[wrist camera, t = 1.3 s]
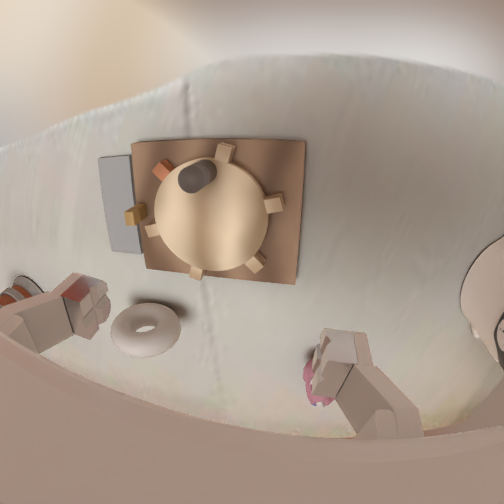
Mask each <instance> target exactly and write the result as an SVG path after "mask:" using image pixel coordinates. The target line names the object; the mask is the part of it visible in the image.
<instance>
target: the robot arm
mask: <svg viewBox="0 0 504 504" xmlns="http://www.w3.org/2000/svg"><path fill="white" fill-rule="evenodd" d="M107 291H108V288H107V283H105V282H104V281H102V280H99V279H96V278H92V277H89V276H86V275H83V274H79V273H72V274H71V275H70V276H69V277H67V278H66V279H65V280H64V281H63V282H62V283H61V284H59V285H58V286H57V287H56V288H55V289H54V290H53V291H52V292H45V293H42V294H39V295H36V296H33V297H30V298H27V299H24V300H20V301H17V302H14V303H11V304H8V305H6V306H3V307H2V308H1V309H0V504H504V425H499V426H494V427H489V428H484V429H479V430H473V431H468V432H462V433H455V434H448V435H441V436H430V437H424V433H423V428H422V424H421V419H420V415H419V411H418V408H417V407H416V406H415V405H414V404H413V403H412V402H411V401H410V400H409V399H408V398H407V397H406V396H405V395H404V394H403V393H402V392H401V391H400V390H399V389H398V387H397V386H396V385H395V384H394V383H393V382H392V381H391V380H390V379H389V378H388V377H387V376H386V375H385V374H384V373H383V372H382V371H381V370H380V369H379V368H378V367H377V366H373V362H372V358H371V353H370V348H369V344H368V339H367V335H366V334H365V333H362V332H353V331H352V332H350V331H342V330H335V329H328V328H324V329H323V331H322V333H321V336H320V344H318V345H317V346H316V349H315V352H314V357H313V363H312V371H313V372H314V374H315V375H314V377H313V379H312V395H315V396H322V397H330V398H335V400H336V402H337V403H338V405H339V406H340V408H341V409H342V411H343V413H344V414H345V416H346V417H347V419H348V420H349V422H350V424H351V425H352V427H353V428H354V430H355V432H356V433H357V435H356V436H355V437H354V438H353V439H338V438H322V437H310V436H300V435H291V434H283V433H276V432H269V431H262V430H256V429H251V428H245V427H240V426H235V425H230V424H225V423H221V422H216V421H212V420H208V419H203V418H199V417H196V416H192V415H188V414H184V413H181V412H177V411H174V410H171V409H167V408H164V407H161V406H158V405H155V404H152V403H149V402H146V401H143V400H140V399H137V398H134V397H132V396H129V395H126V394H124V393H121V392H118V391H116V390H113V389H111V388H108V387H106V386H103V385H101V384H99V383H96V382H94V381H92V380H90V379H87V378H85V377H83V376H81V375H78V374H76V373H74V372H72V371H70V370H68V369H66V368H64V367H62V366H60V365H58V364H56V363H54V362H52V361H50V360H48V359H46V358H45V357H43V356H41V355H39V354H40V353H41V352H43V351H45V350H47V349H49V348H51V347H52V346H54V345H56V344H58V343H60V342H62V341H63V340H65V339H67V338H69V337H71V336H73V335H74V334H76V335H78V336H81V337H84V338H86V339H89V340H91V338H92V337H93V336H94V335H95V333H96V332H97V331H98V330H99V326H98V325H99V324H101V323H104V322H105V321H106V319H107V318H108V316H109V313H110V308H111V304H110V300H109V298H108V297H107V295H106V293H107ZM460 304H461V310H462V312H463V314H464V316H465V317H466V319H467V320H468V321H469V322H470V324H471V330H472V334H473V335H474V337H475V338H481V340H482V341H483V343H484V344H485V346H486V347H487V349H488V350H489V351H490V353H491V354H492V356H493V357H494V359H495V360H496V361H497V362H499V363H500V365H501V367H502V371H503V373H504V236H503V237H502V238H501V239H499V240H498V241H496V242H494V243H493V244H492V245H490V246H489V247H488V248H487V249H485V250H484V251H483V252H482V254H481V255H480V256H479V257H478V258H477V259H476V261H475V262H474V264H473V265H472V267H471V268H470V270H469V272H468V274H467V276H466V278H465V281H464V284H463V287H462V291H461V298H460Z"/></svg>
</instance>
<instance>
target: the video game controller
mask: <svg viewBox="0 0 504 504" xmlns="http://www.w3.org/2000/svg"><path fill="white" fill-rule="evenodd" d="M312 363H313V359H310V360H309V361H308V362H307V364H306V366H305V367H304V369H303V379H304V381H305V382H306V392H307V396H308V399H309V400H310V403H311V404H312V405H315V406H323V407H324V406H326V405H329V404H330V403H331V402H332V401H333V400H334V399H335V398H330V397H322V396H315V395H312V379H313V377H314V375H315V374H314V372H313V371H312Z"/></svg>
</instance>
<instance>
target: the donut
mask: <svg viewBox="0 0 504 504" xmlns="http://www.w3.org/2000/svg"><path fill="white" fill-rule="evenodd" d="M144 326H155V328H154V329H152V330H150V331H147V332H141V333H139V332H135V331H136V330H137V329H139V328H141V327H144ZM180 332H181V325H180V320H179V318H178V316H177V315H176V314H175V312H174V311H173V310H171V309H170V308H168V307H167V306H164V305H161V304H157V303H142V304H137V305H134V306H131V307H129V308H127V309H125V310H123V311H122V312H121V313H120V314H119V315H118V316H117V317H116V318H115V320H114V321H113V323H112V326H111V333H110V334H111V338H112V341H113V344H114V345H115V346H116V347H117V348H118V349H119V350H120V351H121V352H122V353H124V354H126V355H128V356H131V357H136V358H148V357H154V356H157V355H160V354H162V353H164V352H166V351H167V350H168V349H170V348H171V347H172V346H173V345H174V344H175V343H176V341H177V340H178V338H179V335H180Z"/></svg>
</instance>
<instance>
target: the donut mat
mask: <svg viewBox="0 0 504 504" xmlns="http://www.w3.org/2000/svg"><path fill="white" fill-rule="evenodd" d="M98 165H99V174H100V183H101V190H102V198H103V204H104V211H105V217H106V223H107V228H108V234H109V239H110V244H111V249H112V251H115V252H124V253H133V254H142V253H143V246H142V240H141V233H140V227H139V223H138V224H137V225H135V226H126V222H125V216H124V212H125V211H126V210H128V209H130V208H131V207H133V206H134V205H136V195H135V186H134V176H133V164H132V155H125V156H113V157H102V158H98Z"/></svg>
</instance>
